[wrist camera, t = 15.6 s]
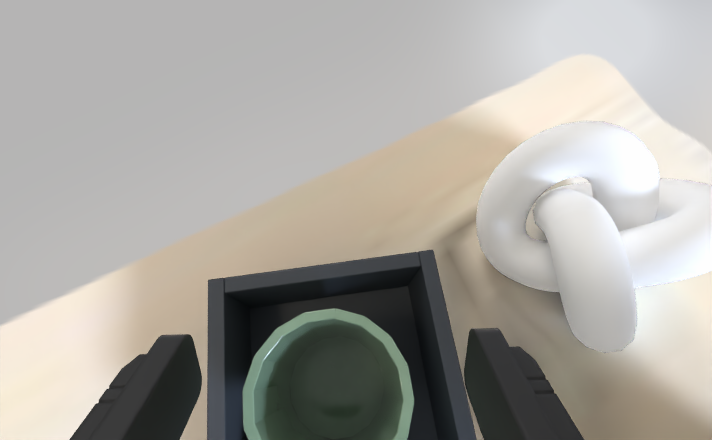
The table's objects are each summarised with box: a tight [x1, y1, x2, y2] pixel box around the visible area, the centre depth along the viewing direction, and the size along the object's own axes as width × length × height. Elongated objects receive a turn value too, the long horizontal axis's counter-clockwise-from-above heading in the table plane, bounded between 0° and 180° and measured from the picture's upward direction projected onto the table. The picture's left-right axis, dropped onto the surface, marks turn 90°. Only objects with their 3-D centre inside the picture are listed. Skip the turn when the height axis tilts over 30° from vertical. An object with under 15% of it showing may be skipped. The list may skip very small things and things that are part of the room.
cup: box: [242, 308, 414, 440], centre depth 17 cm, size 6×6×9 cm
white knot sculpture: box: [476, 121, 712, 353], centre depth 21 cm, size 11×12×9 cm
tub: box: [207, 250, 477, 440], centre depth 19 cm, size 12×12×6 cm
